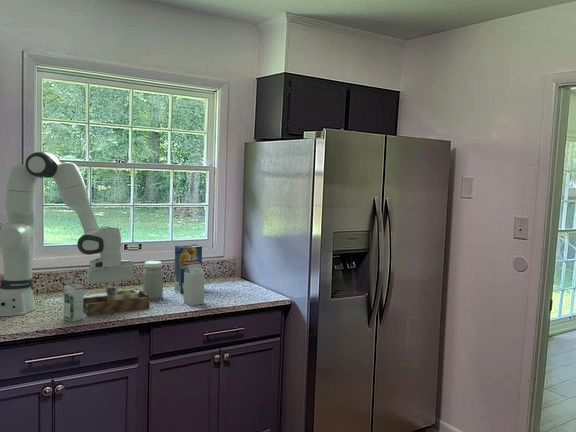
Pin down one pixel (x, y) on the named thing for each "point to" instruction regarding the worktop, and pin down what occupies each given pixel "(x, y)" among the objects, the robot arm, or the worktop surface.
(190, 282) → the milk carton
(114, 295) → the drawer
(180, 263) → the juice carton
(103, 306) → the bay
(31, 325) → the worktop surface
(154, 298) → the jar
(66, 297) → the syrup box
